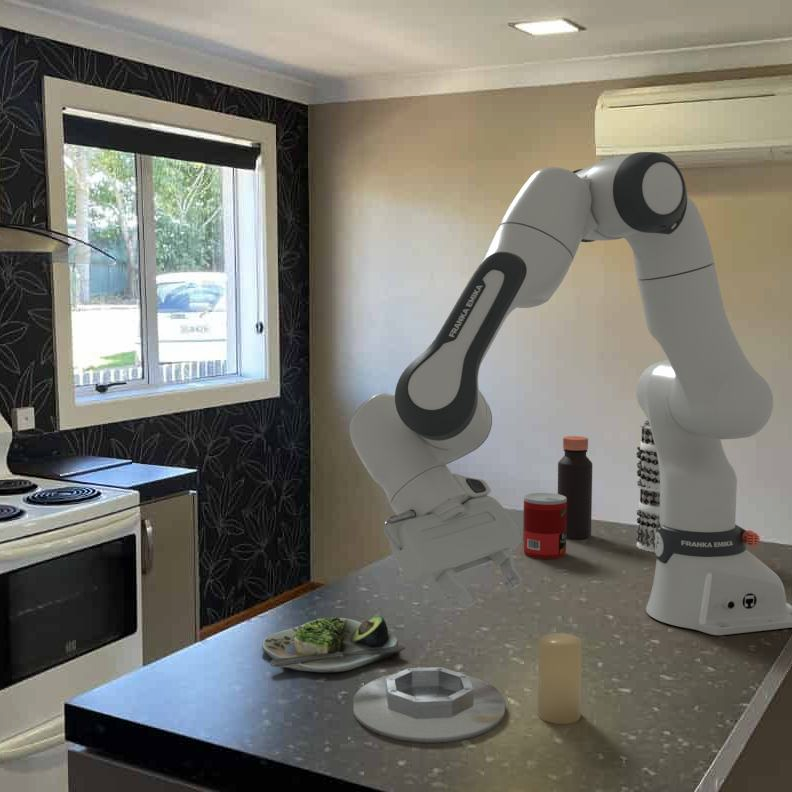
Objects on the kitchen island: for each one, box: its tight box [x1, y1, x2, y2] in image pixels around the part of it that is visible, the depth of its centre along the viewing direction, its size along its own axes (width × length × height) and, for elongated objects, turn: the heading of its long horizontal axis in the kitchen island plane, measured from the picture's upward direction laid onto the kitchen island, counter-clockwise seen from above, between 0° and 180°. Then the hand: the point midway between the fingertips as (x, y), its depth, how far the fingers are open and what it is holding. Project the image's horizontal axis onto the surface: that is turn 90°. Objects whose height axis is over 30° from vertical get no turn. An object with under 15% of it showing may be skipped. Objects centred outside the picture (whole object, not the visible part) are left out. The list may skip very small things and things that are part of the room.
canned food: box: [522, 492, 567, 560], centre depth 184 cm, size 8×8×11 cm
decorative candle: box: [635, 418, 660, 553], centre depth 187 cm, size 9×9×25 cm
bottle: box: [557, 435, 593, 540], centre depth 197 cm, size 7×7×20 cm
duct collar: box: [353, 666, 506, 744], centre depth 116 cm, size 18×18×3 cm
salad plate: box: [261, 615, 407, 673], centre depth 134 cm, size 19×18×5 cm
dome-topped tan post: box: [536, 632, 583, 725], centre depth 114 cm, size 5×5×9 cm
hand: (494, 595), depth 119 cm, fingers open, 8 cm apart
